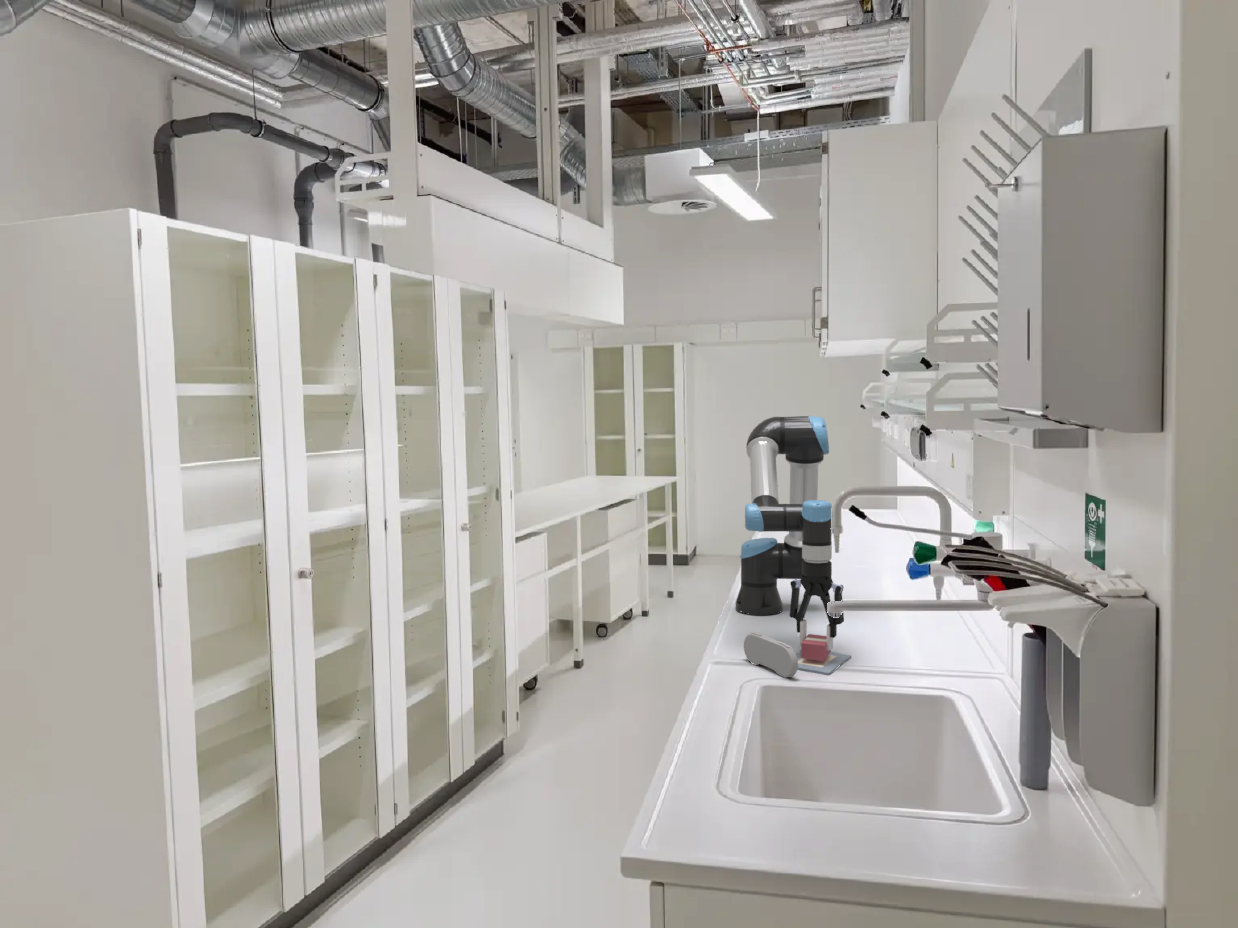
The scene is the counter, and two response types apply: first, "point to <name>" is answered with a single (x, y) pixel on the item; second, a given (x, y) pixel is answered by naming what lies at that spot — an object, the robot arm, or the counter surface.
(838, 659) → the grey flat board
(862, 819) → the counter surface
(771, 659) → the game controller
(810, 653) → the card deck box
